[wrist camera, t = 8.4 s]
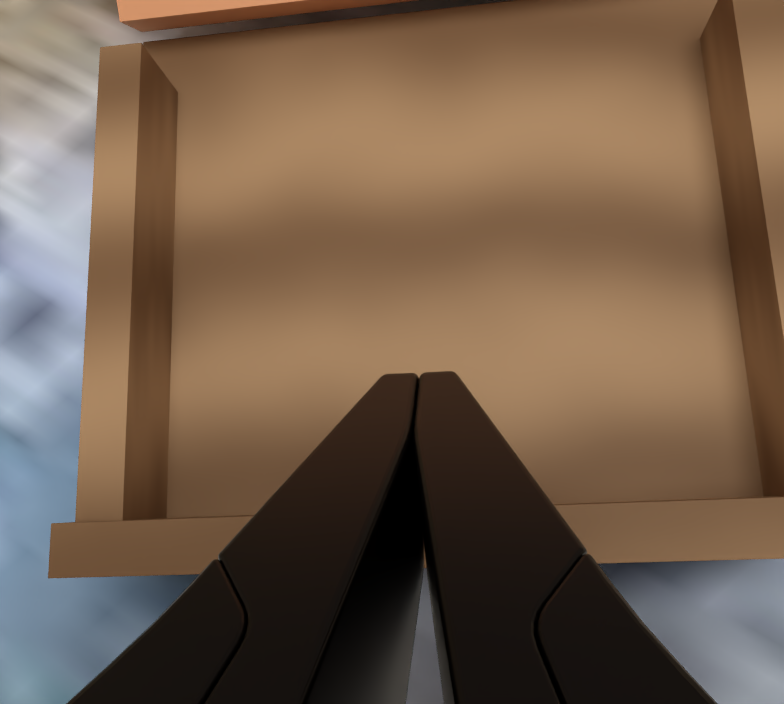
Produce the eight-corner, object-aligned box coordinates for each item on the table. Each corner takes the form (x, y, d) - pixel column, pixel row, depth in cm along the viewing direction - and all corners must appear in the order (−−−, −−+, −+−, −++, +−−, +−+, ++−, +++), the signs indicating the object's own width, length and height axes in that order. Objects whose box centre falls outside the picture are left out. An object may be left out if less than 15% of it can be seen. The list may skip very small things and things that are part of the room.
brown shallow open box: (780, 539, 20) (903, 555, 14) (162, 557, 22) (47, 578, 16) (707, 30, 23) (784, -127, 18) (175, 85, 25) (84, -38, 20)
